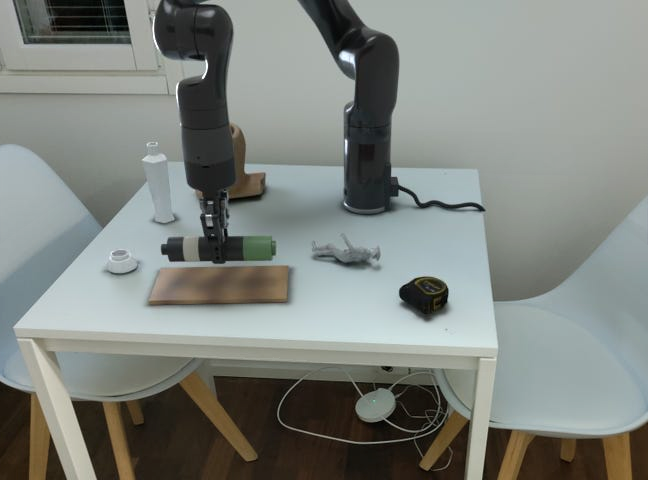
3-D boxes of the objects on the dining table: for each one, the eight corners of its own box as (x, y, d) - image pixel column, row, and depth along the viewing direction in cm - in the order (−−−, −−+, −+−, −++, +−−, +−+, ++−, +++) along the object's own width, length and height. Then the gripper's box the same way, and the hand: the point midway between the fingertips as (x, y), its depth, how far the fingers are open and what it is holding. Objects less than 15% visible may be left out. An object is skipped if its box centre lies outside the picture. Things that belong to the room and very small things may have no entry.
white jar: (124, 258, 125) (102, 270, 122) (121, 243, 123) (98, 254, 120) (143, 266, 123) (121, 278, 120) (140, 251, 121) (118, 262, 118)
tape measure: (396, 302, 113) (397, 282, 111) (429, 290, 116) (430, 270, 114) (422, 321, 109) (424, 301, 106) (456, 308, 112) (458, 288, 109)
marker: (161, 266, 112) (157, 243, 110) (166, 255, 116) (162, 232, 114) (275, 265, 113) (274, 242, 111) (277, 254, 116) (275, 231, 114)
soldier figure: (326, 251, 130) (386, 240, 125) (326, 276, 128) (388, 265, 124) (307, 236, 123) (370, 224, 118) (307, 263, 121) (371, 251, 117)
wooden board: (288, 269, 122) (288, 265, 122) (286, 302, 113) (286, 298, 113) (161, 271, 121) (161, 267, 121) (149, 305, 112) (148, 300, 112)
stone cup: (196, 210, 142) (185, 136, 133) (196, 187, 152) (186, 117, 143) (270, 204, 144) (265, 131, 135) (266, 182, 154) (260, 113, 145)
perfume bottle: (171, 224, 136) (159, 149, 128) (150, 222, 137) (136, 147, 128) (181, 215, 140) (169, 140, 131) (160, 213, 141) (147, 139, 132)
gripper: (190, 137, 110) (203, 237, 120) (175, 170, 98) (191, 278, 108) (238, 136, 110) (247, 236, 120) (228, 170, 98) (240, 277, 108)
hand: (220, 255), depth 114 cm, fingers closed on marker, 4 cm apart
